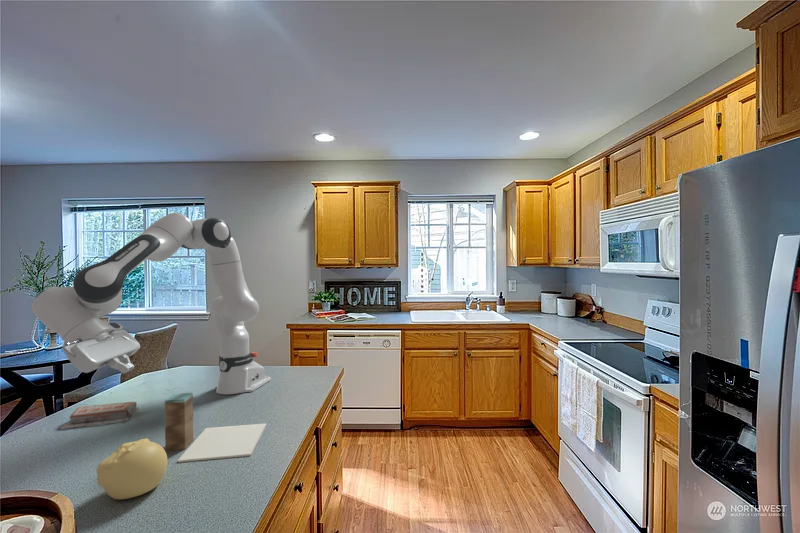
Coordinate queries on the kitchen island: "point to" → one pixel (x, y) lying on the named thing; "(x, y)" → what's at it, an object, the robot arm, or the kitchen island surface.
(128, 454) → the sculpture
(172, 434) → the walnut block
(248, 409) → the kitchen island surface
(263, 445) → the kitchen island surface
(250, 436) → the cream mat
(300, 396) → the kitchen island surface
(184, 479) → the kitchen island surface
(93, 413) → the packaged product
